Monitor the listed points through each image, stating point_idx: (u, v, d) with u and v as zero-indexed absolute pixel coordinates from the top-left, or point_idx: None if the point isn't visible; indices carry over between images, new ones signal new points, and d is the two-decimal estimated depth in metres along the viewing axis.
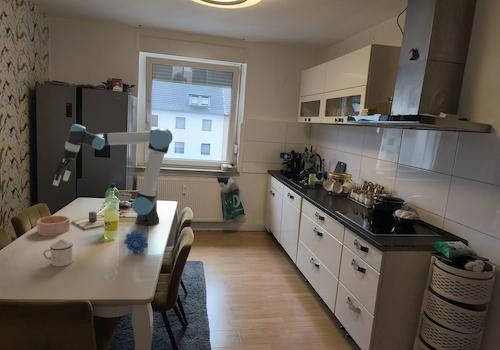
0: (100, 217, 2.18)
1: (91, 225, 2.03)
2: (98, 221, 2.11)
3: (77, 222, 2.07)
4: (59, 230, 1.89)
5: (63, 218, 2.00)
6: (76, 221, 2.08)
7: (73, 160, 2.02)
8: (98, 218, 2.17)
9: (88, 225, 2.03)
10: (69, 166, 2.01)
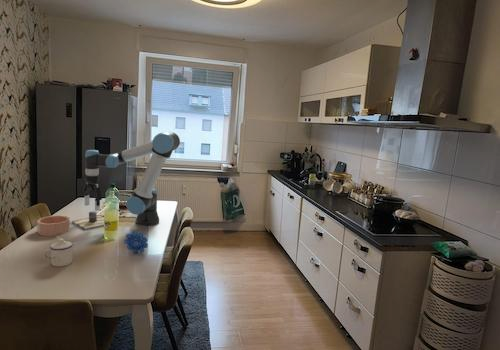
0: (100, 217, 2.18)
1: (91, 225, 2.03)
2: (98, 221, 2.11)
3: (77, 222, 2.07)
4: (59, 230, 1.89)
5: (63, 218, 2.00)
6: (76, 221, 2.08)
7: None
8: (98, 218, 2.17)
9: (88, 225, 2.03)
10: (89, 190, 2.10)
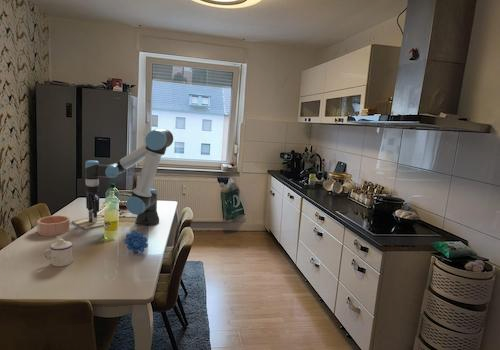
0: (100, 217, 2.18)
1: (91, 225, 2.03)
2: (98, 221, 2.11)
3: (77, 222, 2.07)
4: (59, 230, 1.89)
5: (63, 218, 2.00)
6: (76, 221, 2.08)
7: None
8: (98, 218, 2.17)
9: (88, 225, 2.03)
10: (92, 203, 2.10)
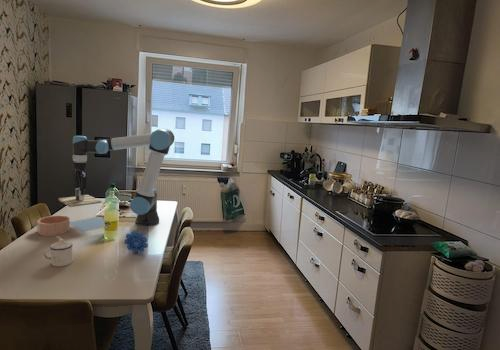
0: (89, 196, 2.11)
1: (77, 203, 1.96)
2: (85, 199, 2.04)
3: (63, 199, 1.99)
4: (59, 230, 1.89)
5: (63, 218, 2.00)
6: (62, 198, 2.01)
7: None
8: (86, 197, 2.09)
9: (74, 202, 1.95)
10: (79, 180, 2.03)
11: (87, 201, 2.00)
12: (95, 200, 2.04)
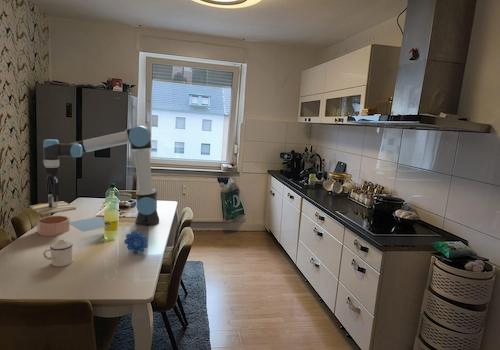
0: (63, 203, 2.00)
1: (50, 210, 1.85)
2: (59, 206, 1.93)
3: (35, 207, 1.89)
4: (59, 230, 1.89)
5: (63, 218, 2.00)
6: (34, 206, 1.90)
7: None
8: (60, 203, 1.99)
9: (46, 210, 1.85)
10: None
11: (60, 208, 1.90)
12: (69, 207, 1.94)
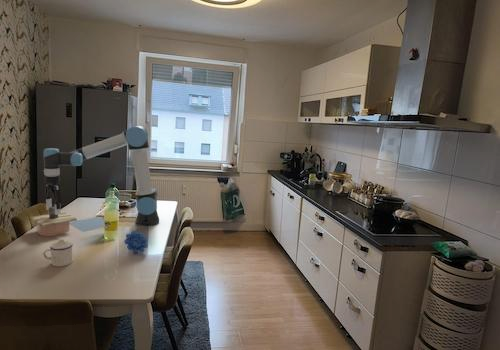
0: (64, 213, 2.02)
1: (50, 221, 1.86)
2: (59, 217, 1.94)
3: (36, 218, 1.90)
4: (59, 230, 1.89)
5: None
6: (35, 217, 1.91)
7: None
8: (61, 214, 2.00)
9: (47, 221, 1.86)
10: (51, 193, 1.94)
11: (61, 219, 1.91)
12: (70, 218, 1.95)
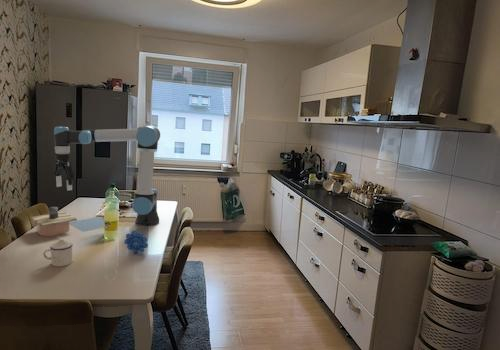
0: (64, 213, 2.02)
1: (50, 221, 1.86)
2: (59, 217, 1.94)
3: (36, 218, 1.90)
4: (59, 230, 1.89)
5: None
6: (35, 217, 1.91)
7: None
8: (61, 214, 2.00)
9: (47, 221, 1.86)
10: (61, 170, 1.99)
11: (61, 219, 1.91)
12: (70, 218, 1.95)
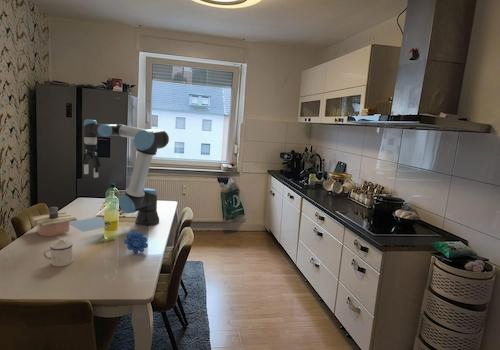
0: (64, 213, 2.02)
1: (50, 221, 1.86)
2: (59, 217, 1.94)
3: (36, 218, 1.90)
4: (59, 230, 1.89)
5: None
6: (35, 217, 1.91)
7: None
8: (61, 214, 2.00)
9: (47, 221, 1.86)
10: (88, 159, 2.20)
11: (61, 219, 1.91)
12: (70, 218, 1.95)
